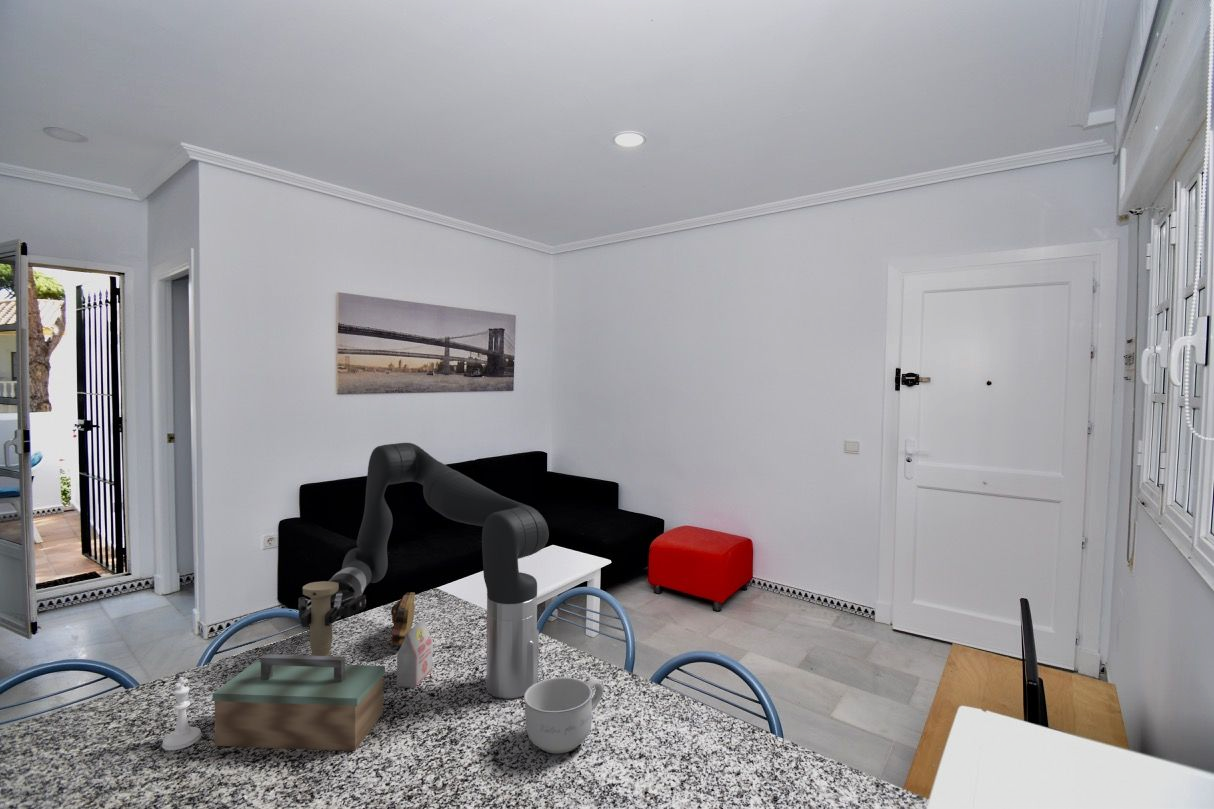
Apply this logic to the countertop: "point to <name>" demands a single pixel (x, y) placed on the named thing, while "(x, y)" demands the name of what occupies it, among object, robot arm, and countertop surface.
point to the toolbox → (299, 704)
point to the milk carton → (414, 656)
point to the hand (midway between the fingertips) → (315, 621)
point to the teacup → (560, 712)
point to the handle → (320, 615)
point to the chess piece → (181, 722)
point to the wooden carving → (402, 618)
